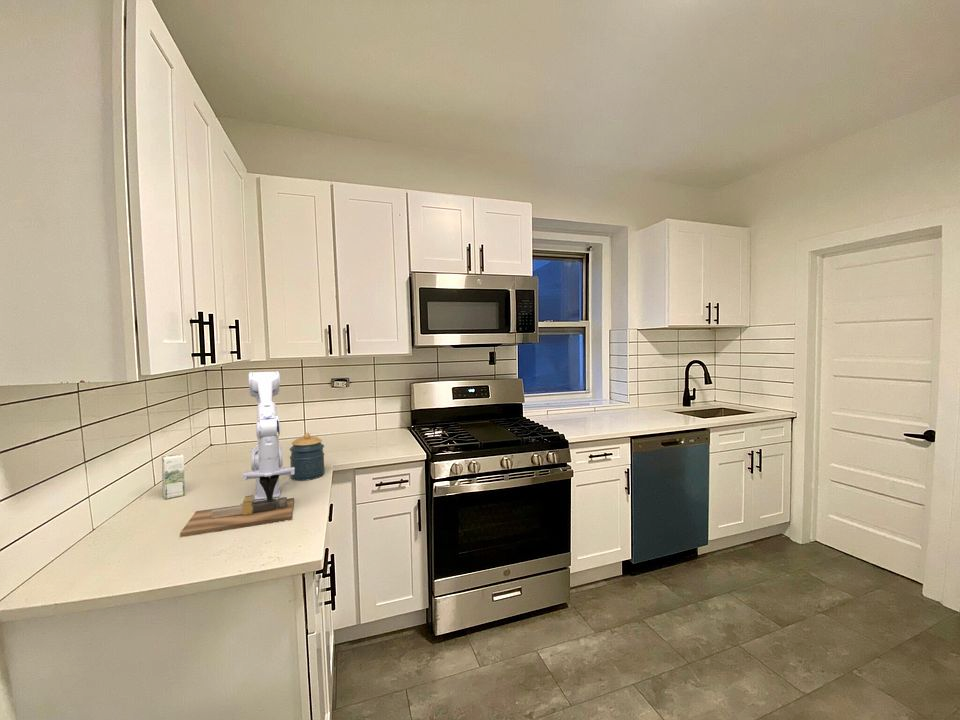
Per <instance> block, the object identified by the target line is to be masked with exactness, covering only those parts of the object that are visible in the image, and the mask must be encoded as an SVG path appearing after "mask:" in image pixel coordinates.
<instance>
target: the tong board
mask: <svg viewBox="0 0 960 720" xmlns="http://www.w3.org/2000/svg"><path fill="white" fill-rule="evenodd" d="M273 501H275V504H276V508H275V510H270V511H263V512H256V513H252V514H248V515H243V514H240V515H233V516H226V517H219V518H212V516H211V512H212V510H216V509H224V508H231V507H238V506H242V503H240V504H239V505H231V506H226V507H225V506H224V507H217V508H210V509H203V510H202V509H201V510H196V511H195V512H194V514H193V515H192V516H191V517H190V518H189V520H188V521H187V523H186V524H185V526H184V527H183V528H182V529H181V531H180V533H179V537H180V538H182V537H183V538H184V537H190V536H195V535H203V534H209V533H215V532H216V531H217V532H221V531H223V532H224V531H228V530H233V529H234V530H236V529H241V528H248V527H253V526H254V527H255V526H261V525H266V524H267V523H268V524H273V523H274V522H275V523H280V522H279V521H281V522H286V521H285V520H288V521H292V519H291V518H293V512H292V511H294V506H293V505H294V504H295V497H291V498H288V497H286V496H285V497H284V496H283V497H278V498H273V499H272V500H269V501H267V499H261V500H255V502H253V504H258V503H265V502H273Z"/></svg>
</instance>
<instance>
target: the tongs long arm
mask: <svg viewBox="0 0 960 720" xmlns="http://www.w3.org/2000/svg"><path fill="white" fill-rule="evenodd" d="M237 506H238V505H237ZM230 507H231V506H230ZM275 508H276V504H275V501H273V502H265V503H258V504H253V505H252V513H256V512H263V511H270V510H275ZM215 509H216V508H215ZM240 514H243V510H242V506H238V507H231V508H224V509H216V510H212V512H211V516H212V518H219V517H226V516H233V515H240Z"/></svg>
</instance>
